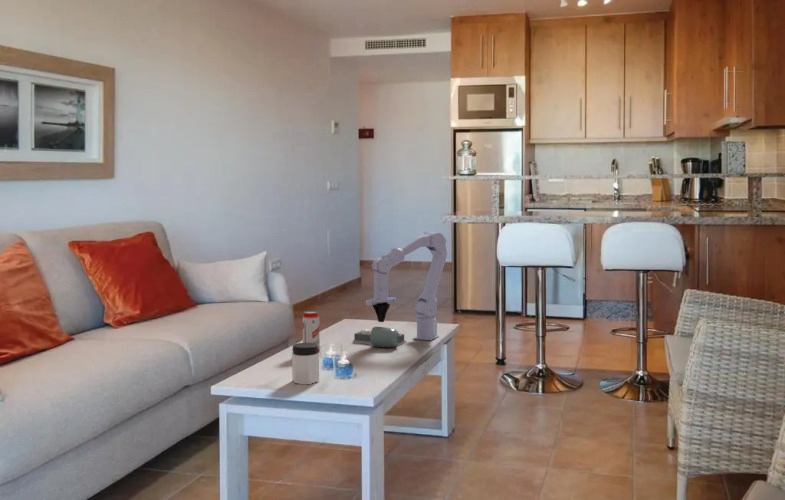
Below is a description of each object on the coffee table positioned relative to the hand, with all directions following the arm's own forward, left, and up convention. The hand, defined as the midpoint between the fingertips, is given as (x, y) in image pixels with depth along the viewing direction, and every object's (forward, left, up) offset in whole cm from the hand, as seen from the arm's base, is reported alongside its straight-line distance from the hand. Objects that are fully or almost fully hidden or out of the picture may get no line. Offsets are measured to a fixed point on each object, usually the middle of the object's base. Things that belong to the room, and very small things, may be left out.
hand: (381, 321), depth 316 cm
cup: (+7, +11, -5) cm, 14 cm away
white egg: (0, -7, -7) cm, 10 cm away
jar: (+66, +4, -9) cm, 67 cm away
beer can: (+30, -15, -9) cm, 34 cm away
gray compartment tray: (0, -1, -9) cm, 9 cm away
